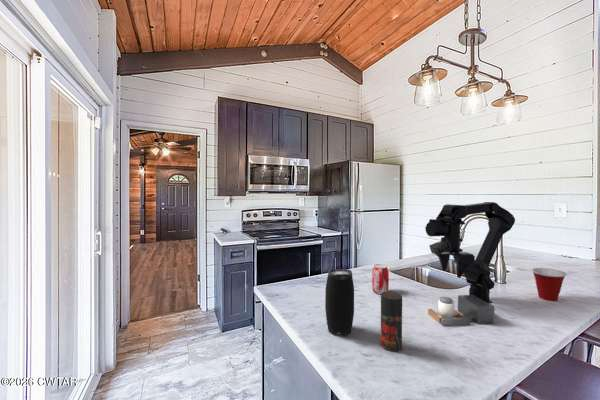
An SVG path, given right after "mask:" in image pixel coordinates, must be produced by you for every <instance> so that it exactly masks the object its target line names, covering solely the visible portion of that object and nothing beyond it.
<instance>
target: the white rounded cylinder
mask: <svg viewBox="0 0 600 400" xmlns="http://www.w3.org/2000/svg"><path fill="white" fill-rule="evenodd" d="M437 301H438V305H437V313H438V314H439V315H440V316H442V317H443V318H455V317H454V309H455V302H454V301H453V299H452V298H450V297H448V296H439V299H438V300H437Z"/></svg>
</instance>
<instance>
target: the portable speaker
mask: <svg viewBox="0 0 600 400" xmlns="http://www.w3.org/2000/svg"><path fill="white" fill-rule="evenodd" d="M326 278H327V279H326V282H325V283H326V284H325V296H324V297H325V301H324V303H325V305H324V309H325V316H326V317H325V318H326V326H327V331H328V333H329V334H331V335H336V334H342V335H344V336H349V335H350V334H352V330H353V329H352V328H353V325H354V324H353V323H354V316H355V287H354V286H355V285H354V279H353V272H352V269H349V268H337V269H336V268H329V269H328V270H327V277H326Z"/></svg>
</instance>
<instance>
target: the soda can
mask: <svg viewBox="0 0 600 400" xmlns="http://www.w3.org/2000/svg"><path fill="white" fill-rule="evenodd" d="M389 273H390V272H389V268H388V265H385V264H379V263H378V264H376V263H375V264H374V265H373V267H372V273H371V274H372V275H371V277H372V280H371V282H372V283H371V287H372V292H374V293H375V294H378V295H381V293H383V292H389V283H390V281H389V280H390V277H389V275H390V274H389Z"/></svg>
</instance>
